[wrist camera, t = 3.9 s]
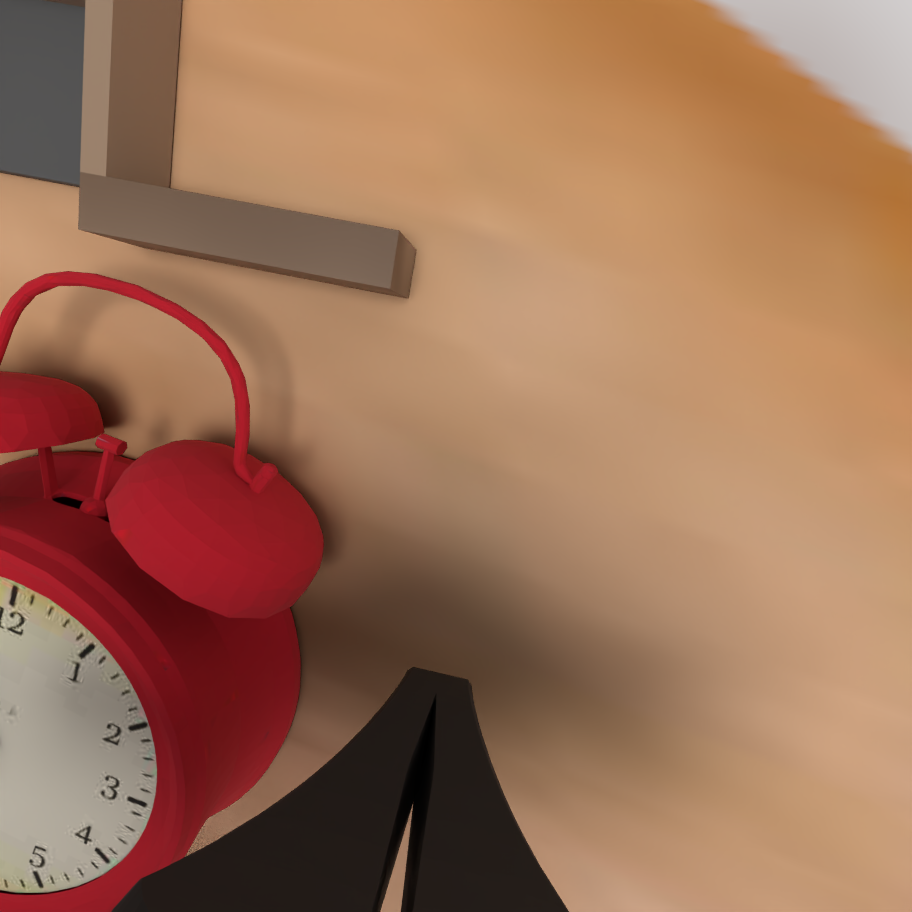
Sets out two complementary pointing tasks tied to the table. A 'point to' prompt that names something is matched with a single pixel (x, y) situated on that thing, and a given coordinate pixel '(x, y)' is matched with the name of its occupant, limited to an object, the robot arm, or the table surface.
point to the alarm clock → (134, 632)
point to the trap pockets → (88, 88)
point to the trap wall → (247, 234)
